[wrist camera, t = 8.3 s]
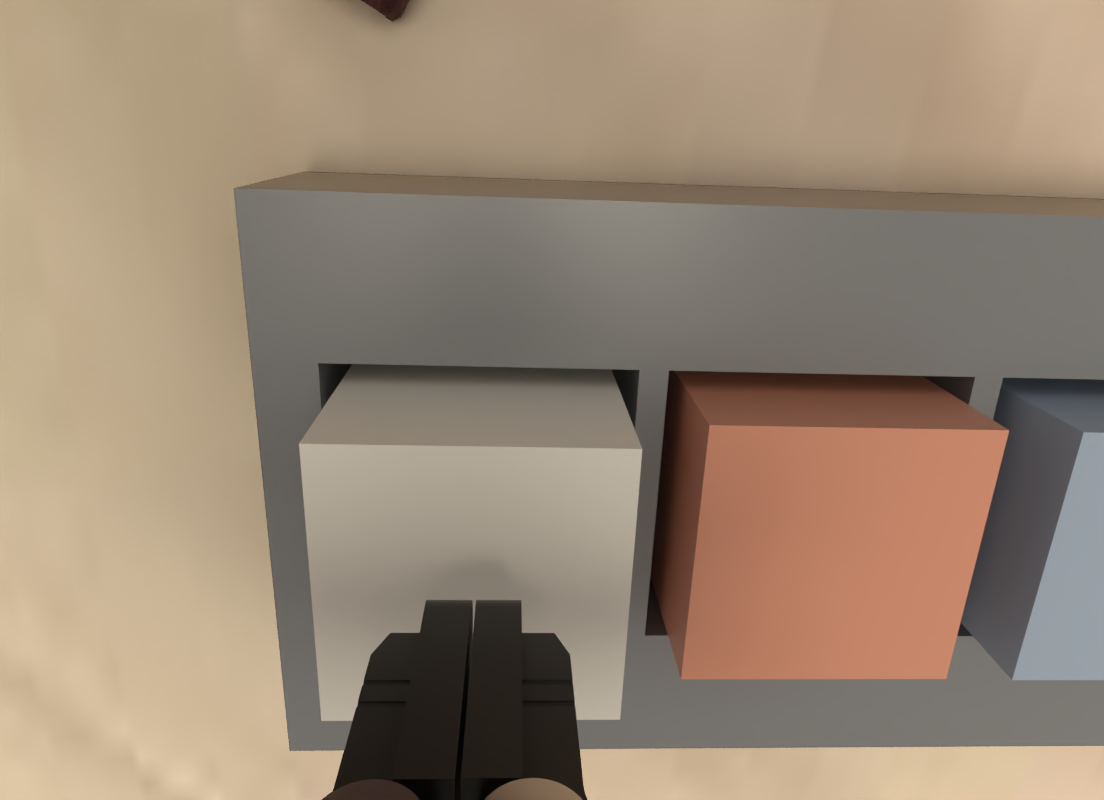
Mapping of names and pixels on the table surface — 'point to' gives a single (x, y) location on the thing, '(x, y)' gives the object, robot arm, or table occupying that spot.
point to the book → (388, 7)
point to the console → (643, 369)
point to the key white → (471, 514)
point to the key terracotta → (818, 523)
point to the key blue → (1044, 535)
